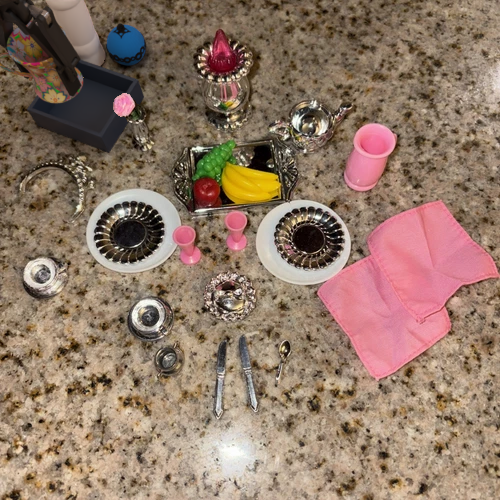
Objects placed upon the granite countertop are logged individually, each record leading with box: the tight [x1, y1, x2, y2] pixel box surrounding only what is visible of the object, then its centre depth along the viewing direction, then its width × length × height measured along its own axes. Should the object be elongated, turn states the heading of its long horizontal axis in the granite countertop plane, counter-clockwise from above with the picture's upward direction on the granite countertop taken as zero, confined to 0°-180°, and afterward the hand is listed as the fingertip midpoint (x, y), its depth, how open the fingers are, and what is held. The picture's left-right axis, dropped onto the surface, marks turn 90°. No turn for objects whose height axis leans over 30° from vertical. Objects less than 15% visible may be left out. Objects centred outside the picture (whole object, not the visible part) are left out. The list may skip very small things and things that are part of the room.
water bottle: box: [44, 0, 106, 67], centre depth 100 cm, size 7×7×25 cm
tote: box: [26, 60, 145, 154], centre depth 104 cm, size 18×16×6 cm
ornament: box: [105, 22, 147, 67], centre depth 107 cm, size 9×9×10 cm
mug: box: [0, 19, 83, 103], centre depth 82 cm, size 12×9×11 cm
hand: (52, 81), depth 85 cm, fingers closed on mug, 9 cm apart
